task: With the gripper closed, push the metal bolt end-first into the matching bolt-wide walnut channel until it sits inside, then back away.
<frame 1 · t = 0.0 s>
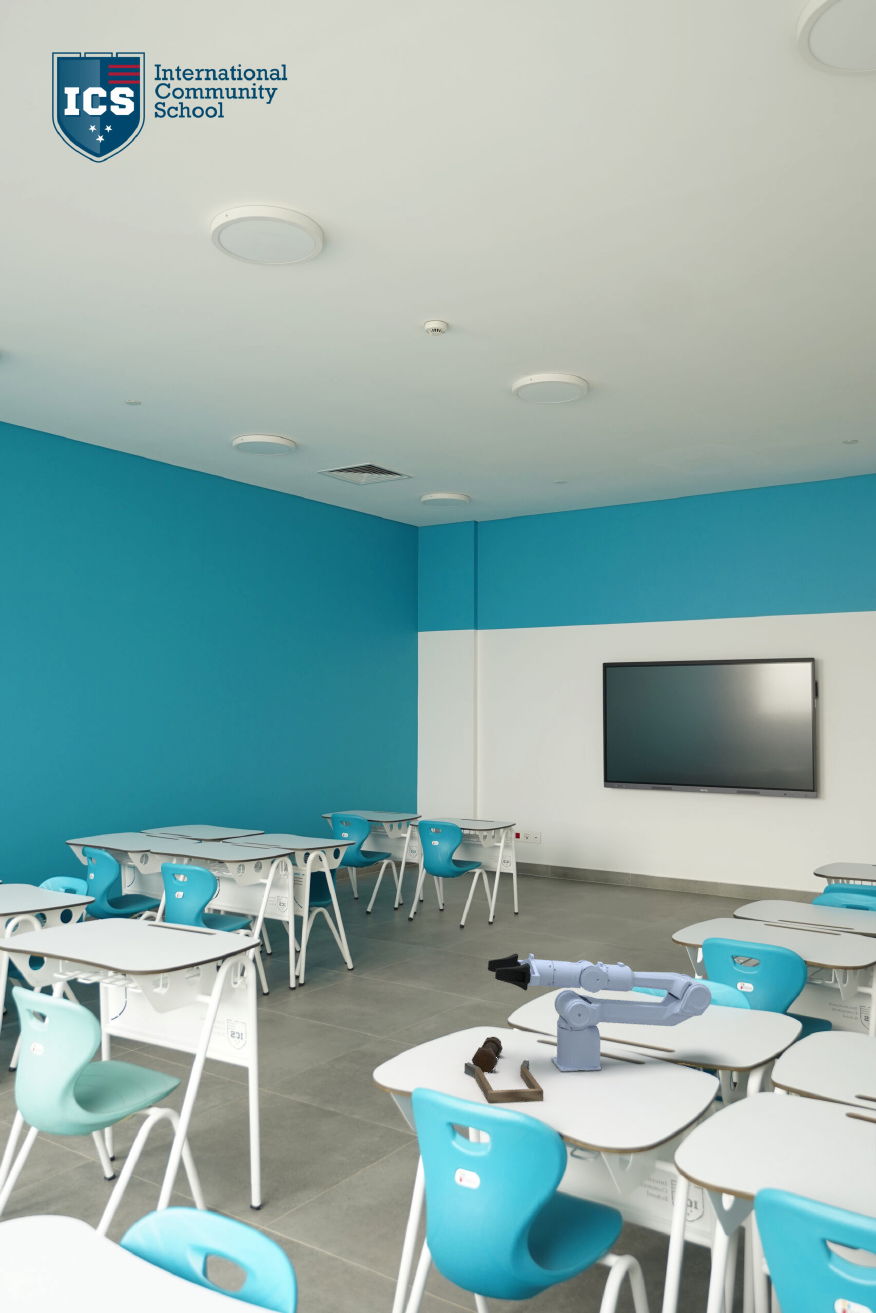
hand: (491, 969, 214), 22 cm above the table, tool horizontal, fingers open, 7 cm apart
bolt: (490, 1063, 217), on the table
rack: (507, 1087, 201), on the table
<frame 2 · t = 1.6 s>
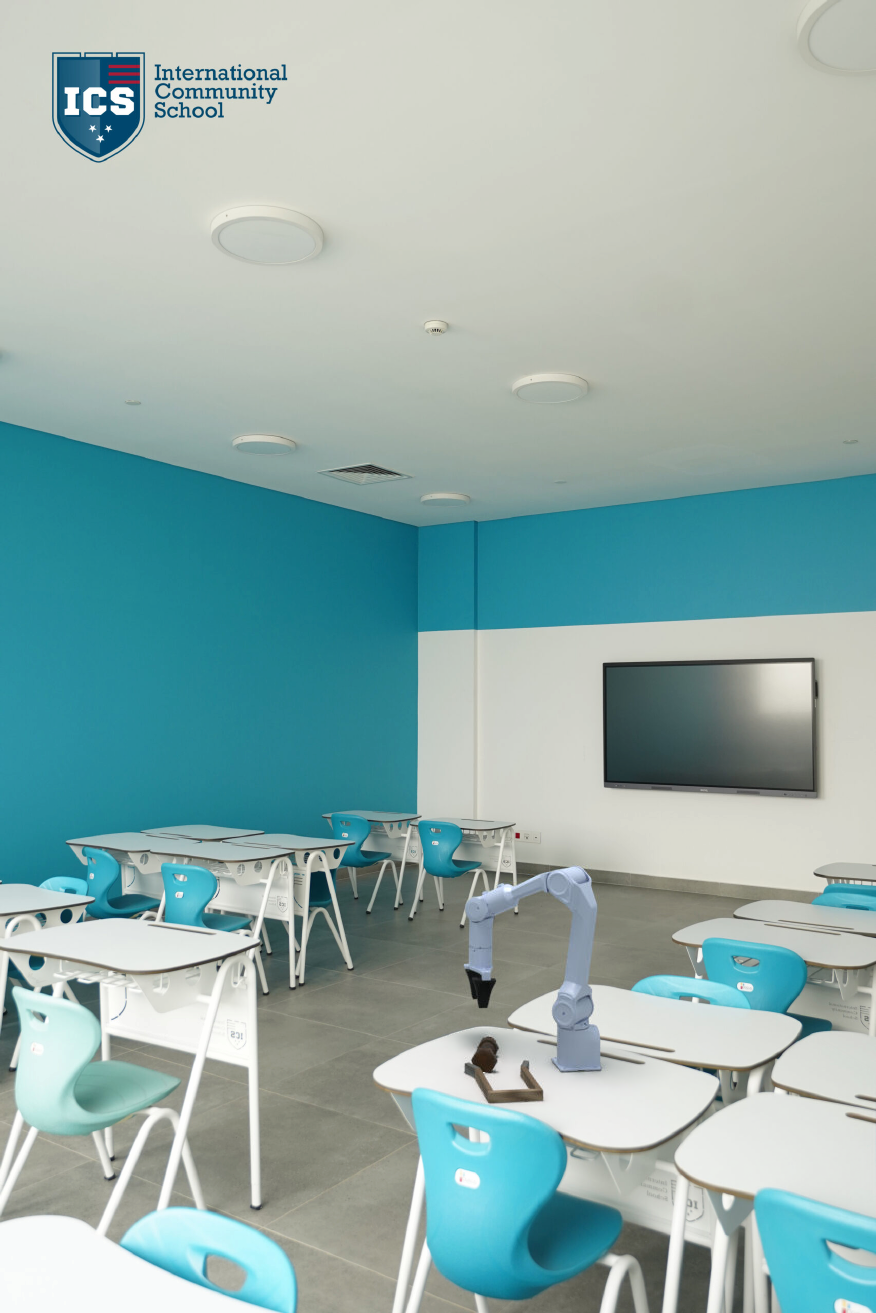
hand: (479, 1003, 231), 9 cm above the table, tool pointing down, fingers open, 7 cm apart
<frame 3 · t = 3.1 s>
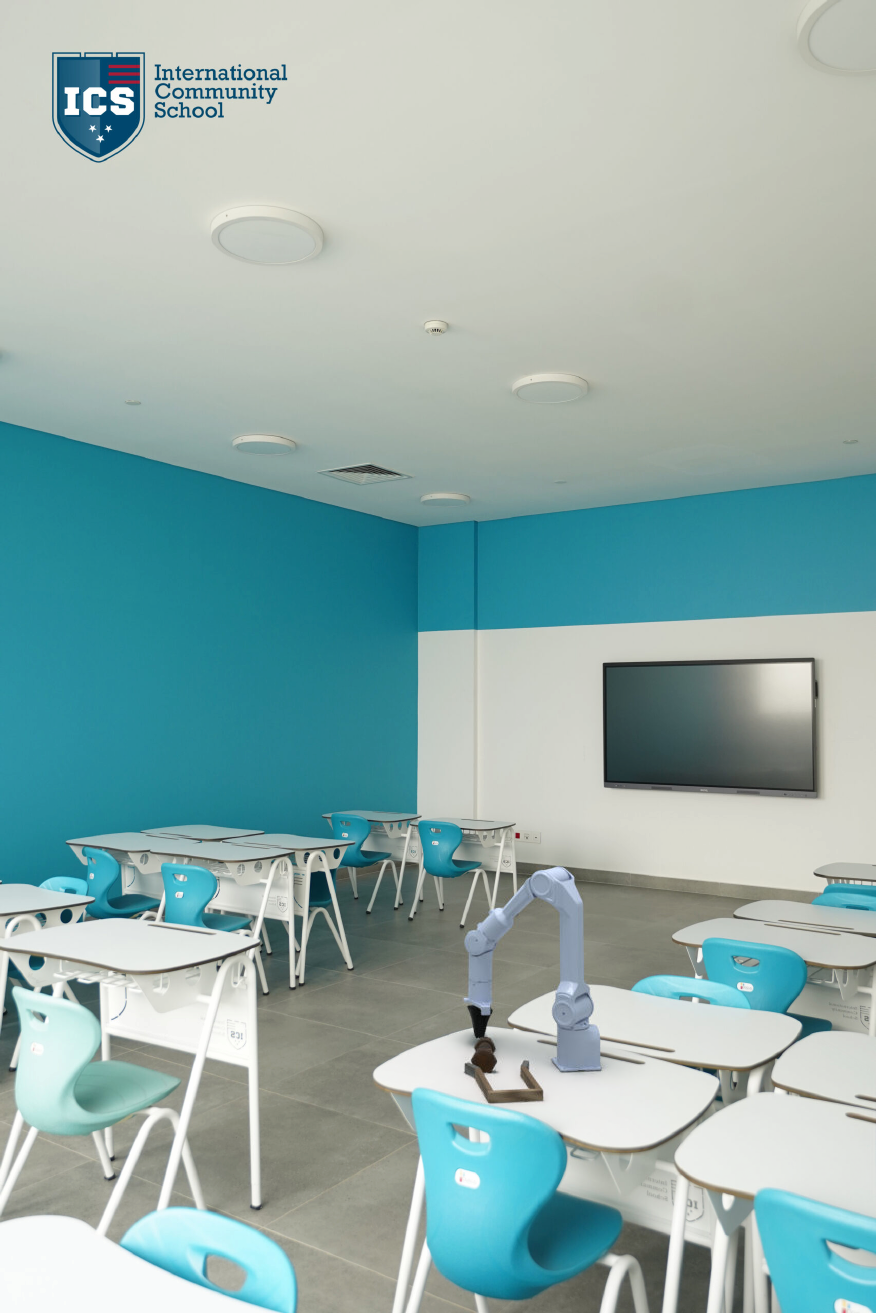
hand: (479, 1037, 230), 1 cm above the table, tool pointing down, fingers closed
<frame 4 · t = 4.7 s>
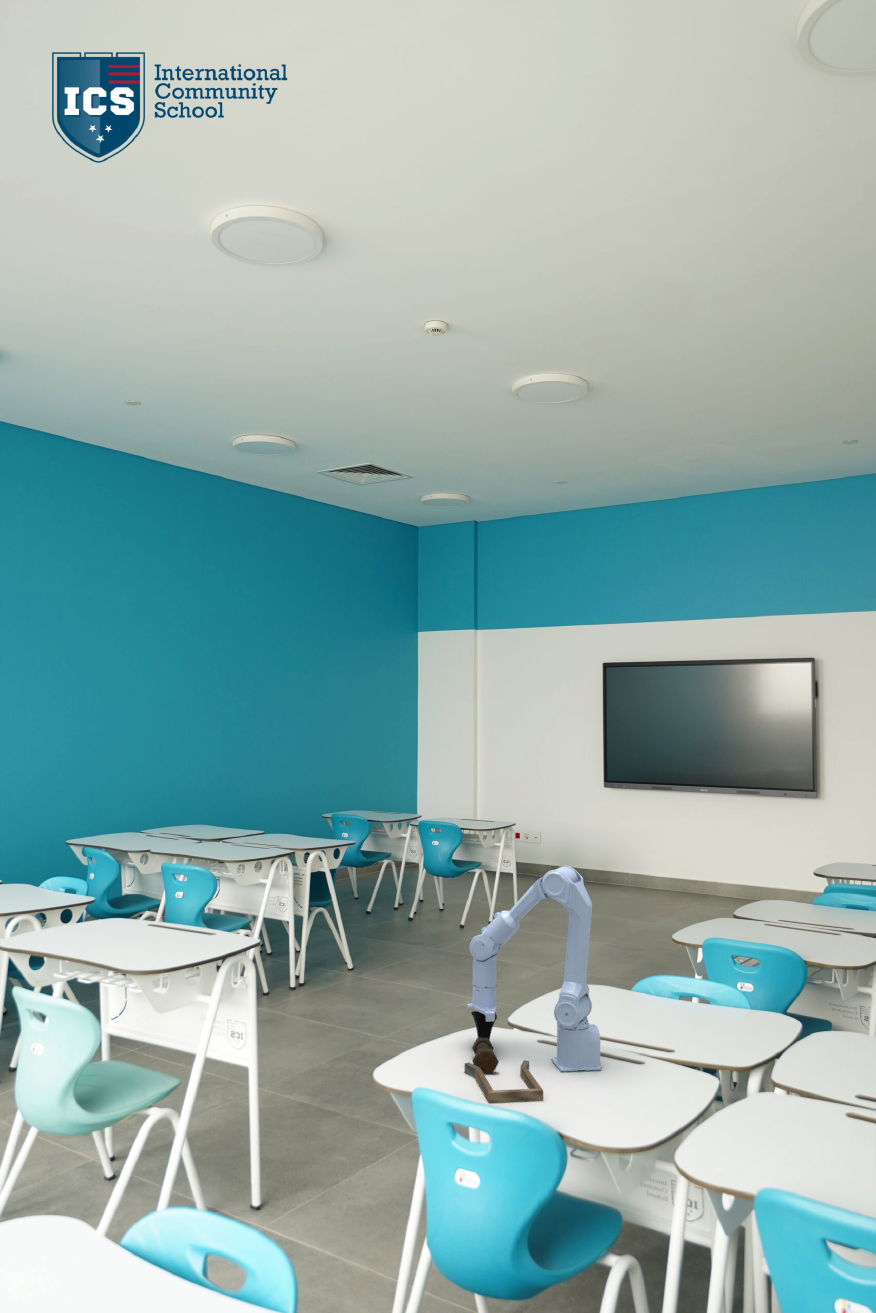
hand: (483, 1043, 225), 1 cm above the table, tool pointing down, fingers closed
bolt: (484, 1063, 216), on the table, touching gripper
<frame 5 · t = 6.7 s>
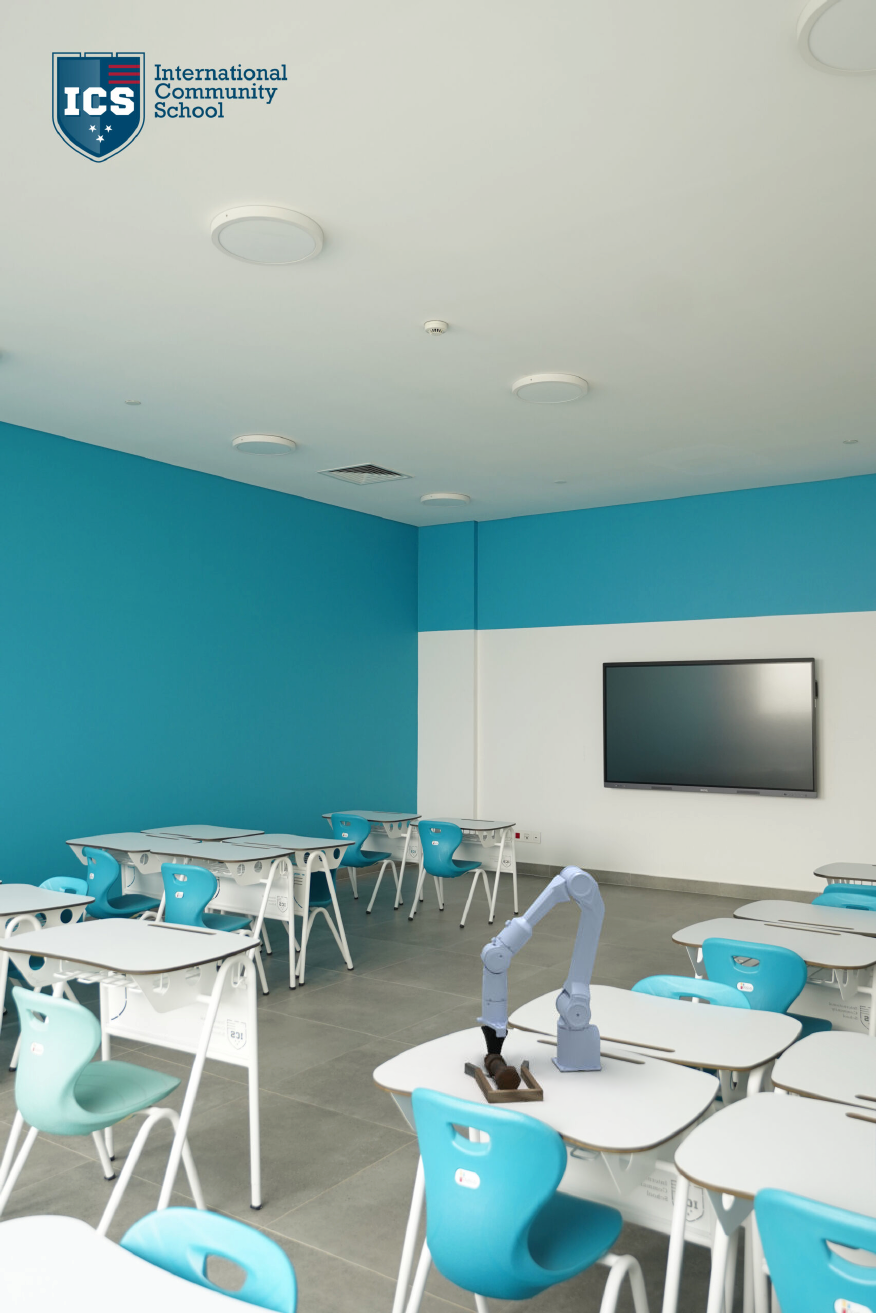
hand: (494, 1059, 214), 1 cm above the table, tool pointing down, fingers closed
bolt: (499, 1081, 205), on the table, touching gripper
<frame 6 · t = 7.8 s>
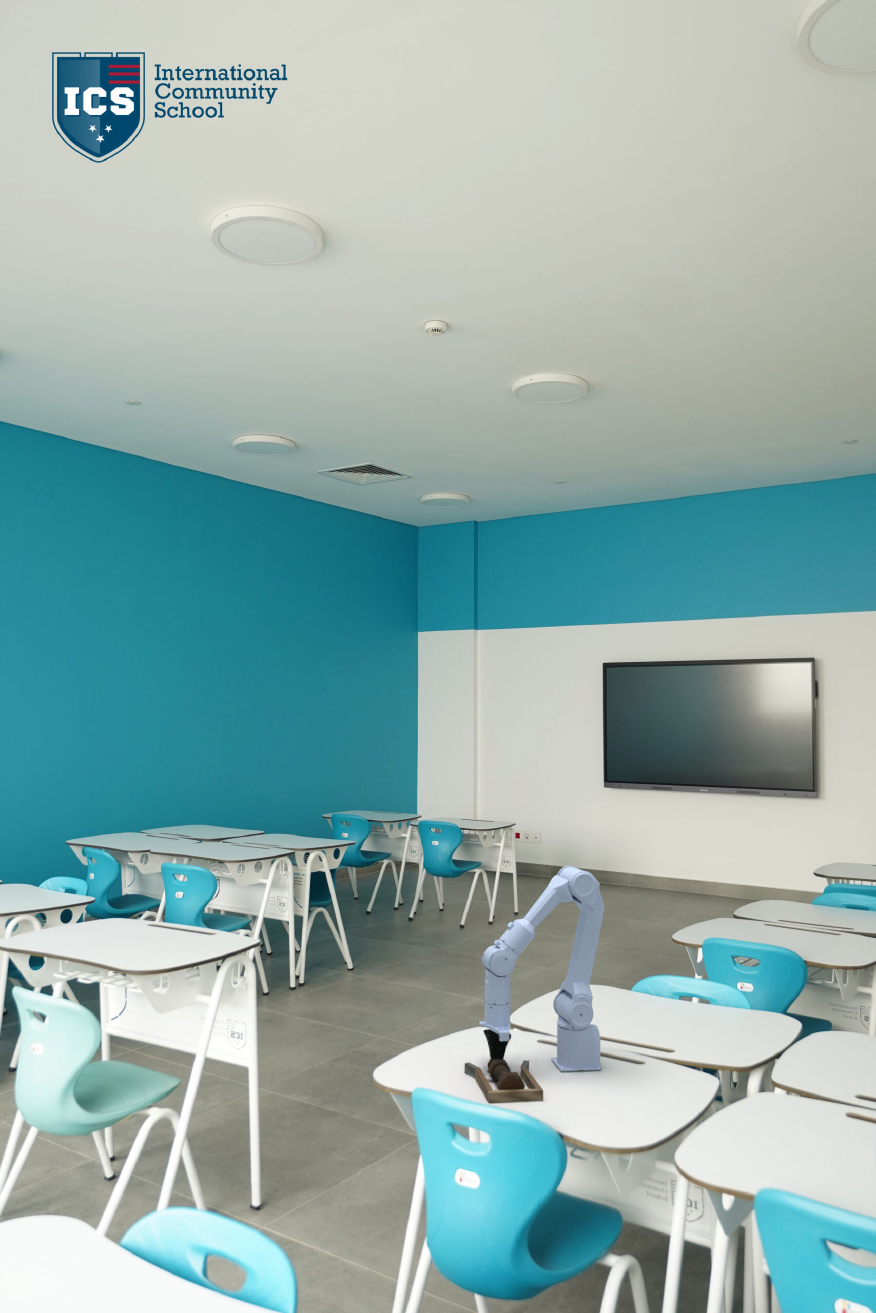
hand: (496, 1064, 211), 1 cm above the table, tool pointing down, fingers closed
bolt: (503, 1087, 202), on the table
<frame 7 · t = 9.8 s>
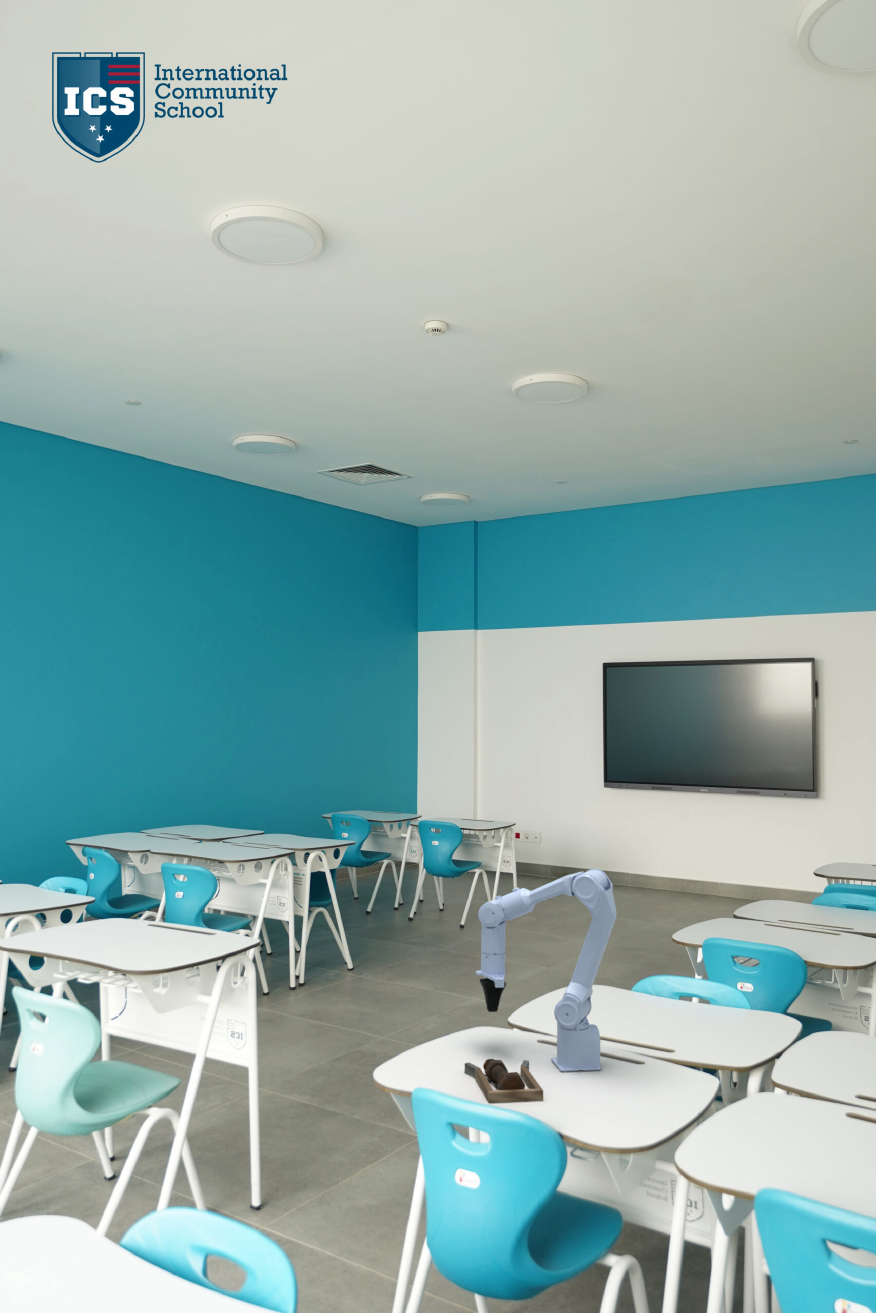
hand: (492, 1010, 224), 9 cm above the table, tool pointing down, fingers closed
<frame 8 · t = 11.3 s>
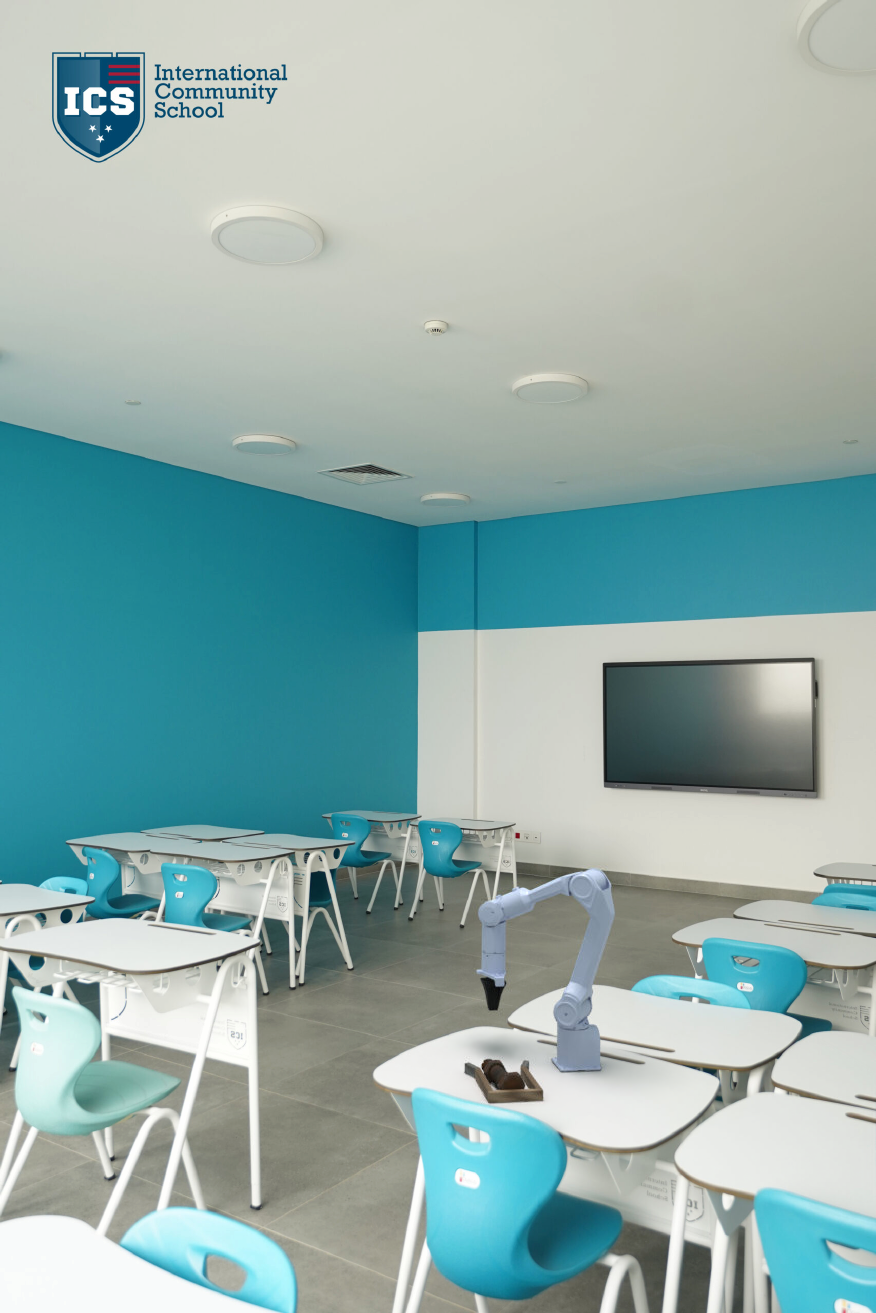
hand: (492, 1009, 225), 9 cm above the table, tool pointing down, fingers closed
nothing on the table moved.
at the end: bolt inside the target area on the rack (1.5 cm from its centre), point -0.5 cm above the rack's base; bolt moved 15.3 cm from its start; the gripper is holding nothing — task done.
